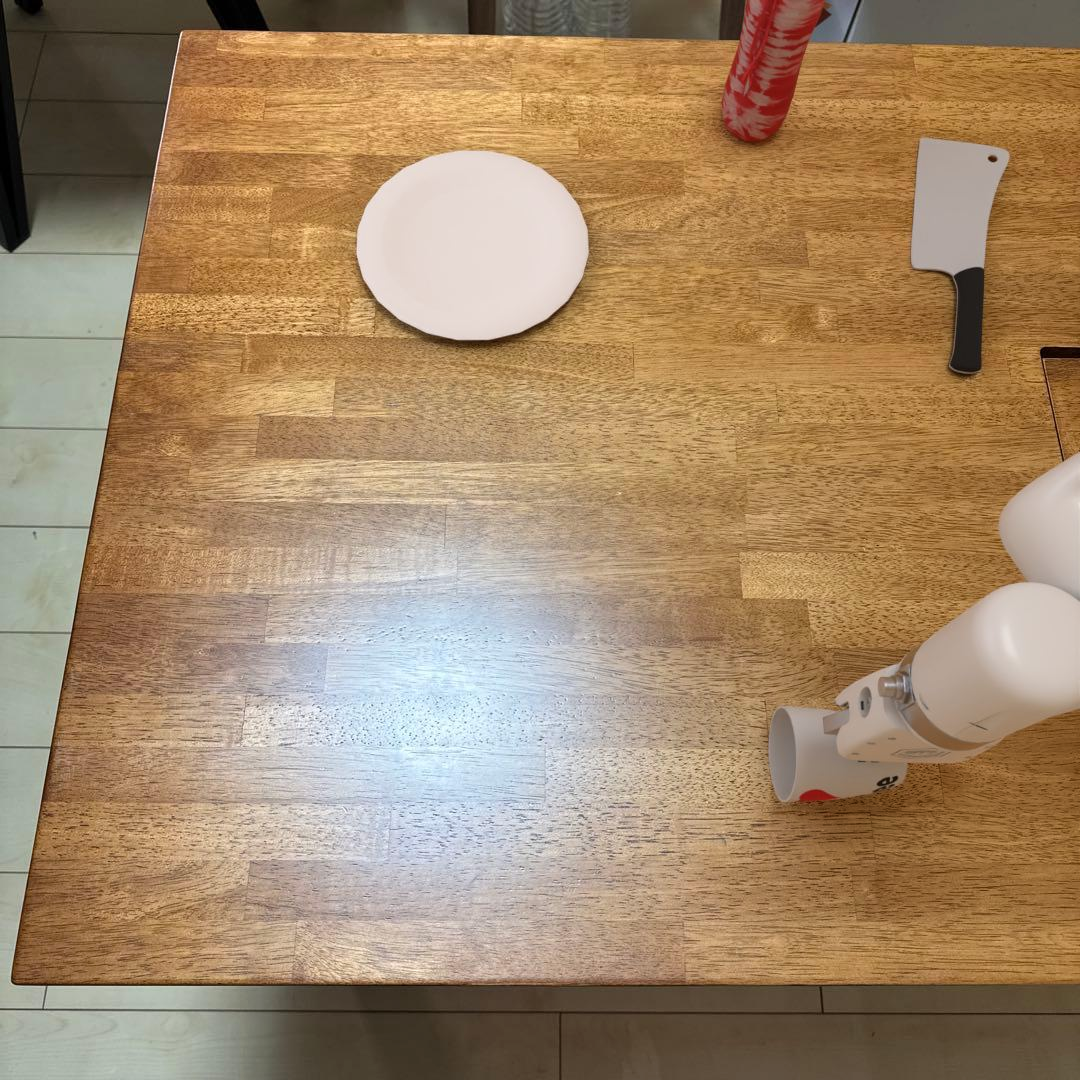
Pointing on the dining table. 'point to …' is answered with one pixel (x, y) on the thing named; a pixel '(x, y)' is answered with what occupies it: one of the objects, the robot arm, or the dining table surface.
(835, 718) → the robot arm
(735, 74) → the water bottle
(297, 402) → the dining table surface
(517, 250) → the plate
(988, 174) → the kitchen cleaver
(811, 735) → the cup
